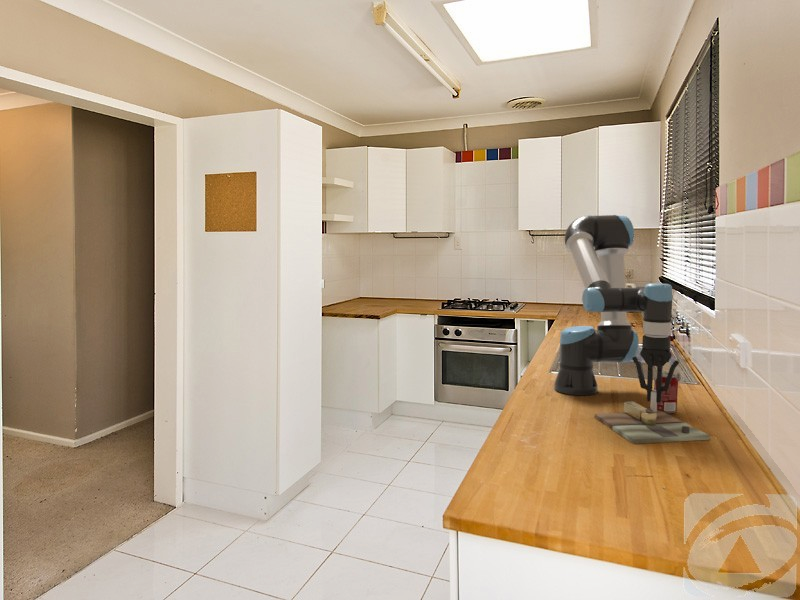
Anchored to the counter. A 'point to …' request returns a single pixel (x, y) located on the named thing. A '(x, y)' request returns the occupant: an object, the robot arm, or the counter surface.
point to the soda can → (668, 395)
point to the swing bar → (640, 413)
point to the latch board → (651, 428)
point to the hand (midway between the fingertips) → (653, 412)
